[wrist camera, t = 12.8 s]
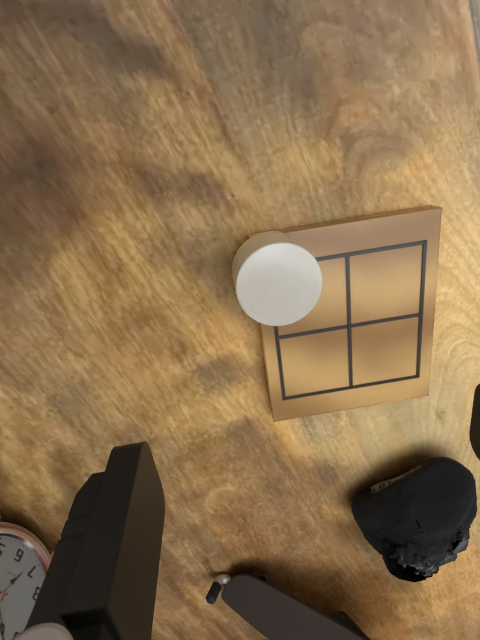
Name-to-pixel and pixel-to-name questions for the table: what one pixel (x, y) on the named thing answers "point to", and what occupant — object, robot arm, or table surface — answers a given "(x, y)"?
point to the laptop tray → (280, 610)
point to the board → (359, 316)
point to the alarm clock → (19, 576)
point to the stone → (276, 279)
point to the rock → (419, 517)
